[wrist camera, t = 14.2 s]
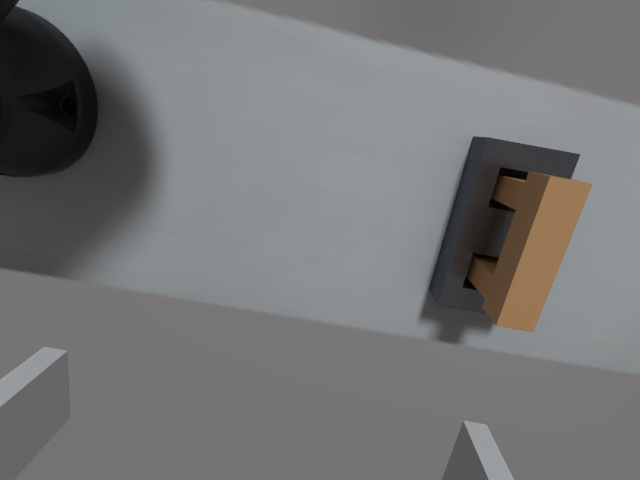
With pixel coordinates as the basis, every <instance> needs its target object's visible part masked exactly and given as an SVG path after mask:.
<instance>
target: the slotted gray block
mask: <svg viewBox="0 0 640 480" xmlns="http://www.w3.org/2000/svg"><path fill="white" fill-rule="evenodd" d="M579 156H580V154H575V153H569V152H564V151H559V150H553V149H548V148H542V147H537V146H531V145H526V144H520V143H515V142H509V141H504V140H499V139H493V138H487V137H473V140H472V143H471V147H470V150H469V154H468V157H467V161H466V164H465V168H464V171H463V175H462V178H461V181H460V185H459V188H458V192H457V195H456V199H455V202H454V206H453V209H452V212H451V216H450V219H449V223H448V226H447V230H446V233H445V237H444V240H443V243H442V247H441V250H440V254H439V257H438V261H437V264H436V268H435V271H434V275H433V278H432V281H431V285H430V288H429V290H430V292H431V293H432V295H433V297H434V299H435V301H436V302H437V304H438V305H443V306H449V307H455V308H460V309H466V310H471V311H477V312H482V313H486V312H485V311H484V310H483V309H482V306H483V303H484V300H485V298H484V297H483V296H482V295H481V293H480V292H479V291H478V290H477V289H476V288H475V286H474V285H473V284H472V283H471V282H470V281H469V279H468V278H467V277H466V274H467V271H468V268H469V265H470V261H471V258H472V255H473V253H477V254H483V255H488V256H494V257H500V254H501V251H502V248H503V245H504V242H505V239H506V236H507V233H508V231H509V228H510V225H511V222H512V219H513V216H514V213H515V209H513V208H511V207H508V206H505V205H500V204H494V203H489V202H490V199H491V196H492V193H493V189H494V186H495V183H496V180H497V177H498V174H499V171H500V168H501V167H502V168H508V169H513V170H519V171H524V172H535V173H540V174H546V175H551V176H557V177H562V178H568V179H571V177H572V175H573V172H574V169H575V167H576V164H577V162H578V159H579Z"/></svg>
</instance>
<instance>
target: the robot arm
mask: <svg viewBox="0 0 640 480" xmlns="http://www.w3.org/2000/svg"><path fill="white" fill-rule="evenodd" d="M18 1H19V0H0V175H4V176H10V177H33V176H40V175H46V174H51V173H55V172H58V171H61V170H63V169H65V168H67V167H69V166H70V165H72V164H73V163H74V162H76V161H77V160H78V159H79V158H80V157H81V156H82V155H83V153H84V152H85V151H86V149H87V148H88V146H89V144H90V142H91V140H92V137H93V135H94V131H95V127H96V121H97V99H96V93H95V88H94V85H93V81H92V78H91V75H90V73H89V71H88V68H87V66H86V64H85V62H84V60H83V59H82V57H81V55H80V54H79V52H78V51H77V49H76V48H75V47H74V45H73V44H72V43H71V42H70V40H69V39H68V38H67V37H66V36H65V35H64V34H63V33H62V32H61V31H60V30H59V29H58V28H56V27H55V26H54V25H53V24H51V23H50V22H48V21H47V20H45V19H44V18H42V17H41V16H39V15H37V14H35V13H32V12H30V11H28V10H25V9H22V8H20V7H17V6H15V5H16V4H17V3H18ZM69 419H70V401H69V376H68V351H66V350H61V349H55V348H49V347H43V348H42V349H40V350H39V351H38V352H36V353H35V354H34V355H32V356H31V357H30V358H28V359H27V360H26V361H24V362H23V363H22V364H21V365H19V366H18V367H17V368H15V369H14V370H12V371H11V372H10V373H8V374H7V375H6V376H5V377H3V378H2V379H1V380H0V480H14V479H15V478H16V477H17V476H18V475H19V473H20V472H21V471H22V470H23V469H24V468H25V467H26V466H27V465H28V464H29V462H30V461H31V460H32V459H33V458H34V457H35V456H36V455H37V454H38V453H39V452H40V450H41V449H42V448H43V447H44V446H45V445H46V444H47V443H48V442H49V441H50V439H52V437H53V436H54V435H55V434H56V433H57V432H58V431H59V429H61V428H62V426H63V425H64V424H65V423H66V422H67V421H68V420H69ZM442 480H514V479H513V477H512V475H511V473H510V471H509V469H508V467H507V465H506V463H505V461H504V459H503V457H502V455H501V453H500V451H499V449H498V447H497V445H496V443H495V441H494V439H493V437H492V435H491V434H490V431H489V429H488V427H487V425H485V424H480V423H473V422H468V421H463V423H462V426H461V429H460V431H459V435H458V437H457V440H456V442H455V445H454V448H453V451H452V453H451V456H450V459H449V462H448V464H447V467H446V470H445V473H444V475H443V478H442Z"/></svg>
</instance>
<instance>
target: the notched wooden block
mask: <svg viewBox="0 0 640 480" xmlns="http://www.w3.org/2000/svg"><path fill="white" fill-rule="evenodd" d="M591 186H592V184H590V183H585V182H581V181H576V180H572V179H568V178H562V177H557V176H551V175H546V174H540V173H535V172H528V175H527V178H526V179H523V178H519V177H513V176H508V175H503V174H498V177H497V180H496V183H495V186H494V189H493V193H492V196H491V199H494V200H496V201H498V202H500V203H502V204H504V205H506V206H508V207H511V208H513V209H515V213H514V216H513V219H512V222H511V225H510V228H509V231H508V233H507V236H506V239H505V242H504V245H503V248H502V251H501V254H500V257H499V258H498V257H494V256H488V255H483V254H477V253H473V255H472V258H471V261H470V265H469V268H468V271H467V274H466V277H467V278H468V279H469V281H470V282H471V283H472V284H473V285H474V286H475V288H476V289H477V290H478V291H479V292H480V293H481V295H482V296H483V297H484V298H485V300H484V303H483V306H482V309H483V310H484V311H485V312H486V314H487V315H488V316H489V318H490V319H491V320H492V321H493V323H494V324H495V325H496V326H500V327H506V328H511V329H517V330H522V331H528V332H533V331H534V329H535V326H536V324H537V321H538V319H539V316H540V314H541V311H542V309H543V306H544V304H545V301H546V299H547V296H548V294H549V291H550V289H551V286H552V283H553V281H554V278H555V276H556V273H557V271H558V268H559V266H560V263H561V261H562V258H563V256H564V253H565V251H566V248H567V246H568V243H569V241H570V238H571V236H572V233H573V231H574V228H575V226H576V223H577V221H578V218H579V216H580V213H581V211H582V208H583V206H584V203H585V201H586V198H587V196H588V193H589V191H590V188H591Z"/></svg>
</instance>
